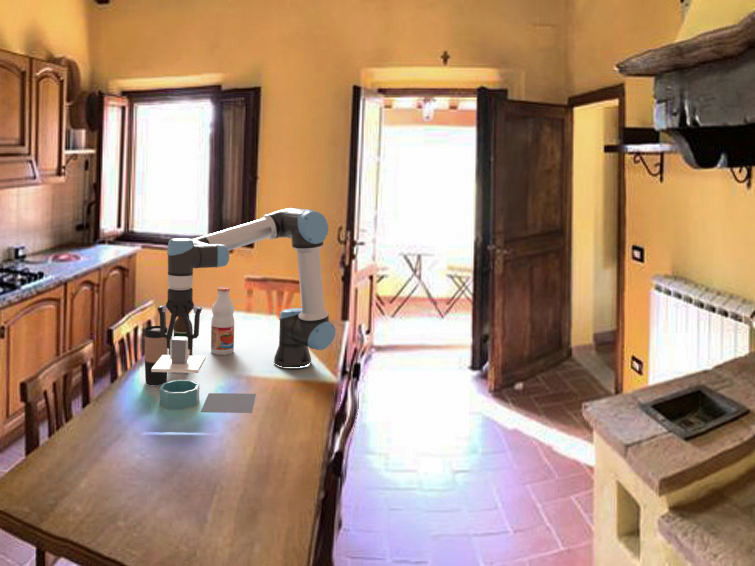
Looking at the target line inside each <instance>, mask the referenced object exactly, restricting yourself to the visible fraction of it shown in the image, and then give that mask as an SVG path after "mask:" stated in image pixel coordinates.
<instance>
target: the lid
mask: <svg viewBox="0 0 755 566" xmlns="http://www.w3.org/2000/svg"><path fill="white" fill-rule="evenodd" d="M172 338H173V339H172V359H170V355H169V354H168V355H162V356H161V357H160V359H159V360H158V361H157V362H156V364H155V365H154V366H153V367H152V369H151V372H167V373H172V372H180V373H179V374H182V373H183V374H184V373H185V374H186V373H188V374H198V373H199V371H200V370H201V368H202V366H203V364H204V363H205V361H206V355H192V356H189V358H188V360H185V340H186V339H187V338H188V337H177V336H175V337H174V336H173V337H172Z"/></svg>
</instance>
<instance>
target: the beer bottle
mask: <svg viewBox="0 0 755 566" xmlns="http://www.w3.org/2000/svg"><path fill="white" fill-rule="evenodd" d="M190 324H191V328H192V333H193V334H194V327H193V325H192V321H191V320H190ZM175 336H177V337H187V332H186V328H185V323H184V320H183V317H181V316H178V317H177V318H176V321H175V325H174V330H173V338H174V337H175ZM190 356H193V348H192V349H190Z"/></svg>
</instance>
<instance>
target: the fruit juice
mask: <svg viewBox="0 0 755 566" xmlns="http://www.w3.org/2000/svg"><path fill="white" fill-rule="evenodd" d="M230 291H231V290H230V287H228V286H219V287H217V297H216V300H215V301H214V303H213V304H212V306H211V313H212V317H211V320H210V321H211V322H210V324H211V327H210V328H211V329H210V334H211V335H210V351H211V353H212V354H214V355H216V356H217V355H218V356H227V354H228V355H231V354H233V353H234V351H235V350H234V349H235V318H234V312H235V306H234V304H233V302H232V300H231V297H230ZM232 352H233V353H232ZM230 353H231V354H230Z"/></svg>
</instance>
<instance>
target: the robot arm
mask: <svg viewBox="0 0 755 566" xmlns="http://www.w3.org/2000/svg"><path fill="white" fill-rule="evenodd" d="M328 235H329V223H328V220H327V219H326V217H325V216H324V215H323V214H322V213H321V212H318V211H316V210H314V209H307V208H297V207H288V208H284V209H279V210H276V211H273V212H270V213H268V214H267V213H266V214H264V215H262V217H261V218H260V219H259V218H258V219H256V220H253V221H250V222H246V223H242V224H239V225H236V226H233V227H229V228H226V229H223V230H220V231H216V232H213V233H209V234H206V235H202V236H198V237H195V238H185V237H184V238H183V237H181V238H179V237H176V238H170V239H169V241H168V244H167V252H166V253H167V287H168V288H167V302H166V303H165V304H164V305H160V306H159V307H157V312H158V314H159V326H160V334H161V337H164V338H166V339H167V349H170V359H172V339H173V338H174V337H173V335H174V325H175V321H176V320H177V318H178V316H181V317H183V320H184V323H185V328H186V332H187V337H188V338H187V339H186V340H185V360H188V358H189V349H192V350H193V347H194V346H193V344H194V343H193V341H194V339H197V338H198V337H199V334H200V321H201V319H200V317H201V313H202V310H203V308H202V307H201V306H199V307H198V306H196V305H195V303H194V301H193V298H194V297H193V294H194V293H193V291H194V289H193V288H192V287H193V286H194V285H193V283H194V282H193V281H194V269H205V268H206V269H207V268H223V267H225V266H227V265H228V263H229V262H230V251H231V250H234V249H238V248H241V247H244V246H248V245H250V244H253V243H257V242H260V241H263V240H267V239H268V240H276V239H280V238H286V239H290V240H291V246H292V249H294V250H295V251H296V257H297V269H298V280H299V293H300V304H301V305H300V306H301V307H298V308H297V307H296V308H295V307H293V308H285V309H283V310H281V311H280V316H279V334H278V335H279V337H278V338H279V339H278V340H279V341H278V347H277V349H276V353H275V355H274V358H273V364H274V363H275V364H277V365H279V366H282V367H300V366H305V365H307V364H309V363H310V362H311V363H312V356H311V353H310V350H309V348H310V349H311V350H316V351H323V350H325V349H327V348H329V346H330V345H332V342H333V341H334V340H335V337H336V334H337V333H336V332H337V331H336V327H335V325H334V324H333V323H332V322H330V316H329V312H328V311H327V310H326V309H325V303H324V302H325V301H324V288H323V275H322V264H321V261H322V260H321V249H322V247H323V246H324V241H325V240H326V238H327V236H328ZM167 310H168V311H169V313H170V314H171V315H170V320H169V325H168V327H167V322H166V321H167V320H166V319H167V316H166V312H167ZM192 310H193V313H194V322H193V327H192V328H193V333H192V328H191V324H190V321H191V319H190V313H191V311H192ZM166 327H167V333H166ZM275 364H274V365H275Z"/></svg>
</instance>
